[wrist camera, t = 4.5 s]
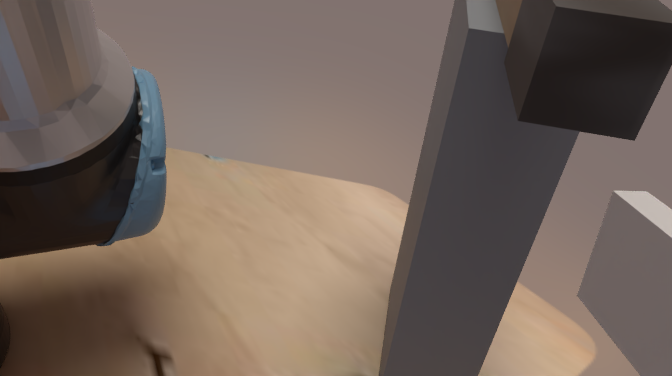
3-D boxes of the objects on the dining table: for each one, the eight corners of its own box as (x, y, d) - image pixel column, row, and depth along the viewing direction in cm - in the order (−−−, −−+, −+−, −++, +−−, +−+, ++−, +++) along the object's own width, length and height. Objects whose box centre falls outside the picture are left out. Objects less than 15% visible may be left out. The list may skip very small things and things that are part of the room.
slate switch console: (372, 419, 39) (468, 28, 22) (391, 281, 51) (462, -40, 34) (451, 437, 39) (613, 50, 22) (451, 293, 51) (554, -27, 34)
